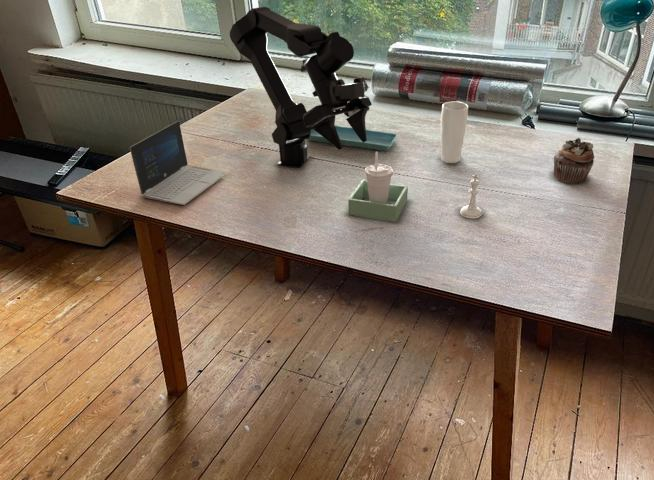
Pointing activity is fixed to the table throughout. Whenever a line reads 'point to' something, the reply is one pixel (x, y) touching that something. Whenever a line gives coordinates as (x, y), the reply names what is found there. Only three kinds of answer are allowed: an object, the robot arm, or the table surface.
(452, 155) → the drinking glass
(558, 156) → the cupcake
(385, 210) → the green open tray
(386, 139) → the shallow long dish
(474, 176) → the chess piece
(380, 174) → the smoothie
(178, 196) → the laptop
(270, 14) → the robot arm
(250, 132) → the table surface
